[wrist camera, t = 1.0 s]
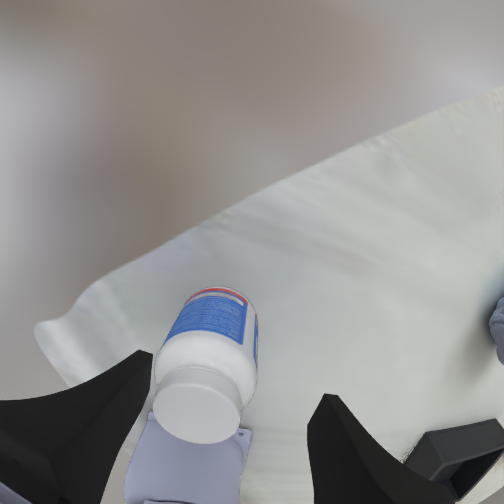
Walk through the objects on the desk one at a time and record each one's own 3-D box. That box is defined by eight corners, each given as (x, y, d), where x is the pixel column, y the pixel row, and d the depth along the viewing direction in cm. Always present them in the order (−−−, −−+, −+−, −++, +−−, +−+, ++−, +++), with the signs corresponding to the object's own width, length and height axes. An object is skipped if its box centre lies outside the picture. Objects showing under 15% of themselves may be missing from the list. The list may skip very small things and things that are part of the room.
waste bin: (379, 492, 27) (388, 520, 22) (425, 431, 24) (442, 463, 19) (449, 478, 27) (460, 500, 22) (495, 418, 24) (513, 441, 19)
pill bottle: (168, 308, 21) (112, 392, 12) (228, 269, 20) (201, 346, 11) (213, 363, 22) (188, 462, 13) (273, 331, 21) (278, 431, 12)
